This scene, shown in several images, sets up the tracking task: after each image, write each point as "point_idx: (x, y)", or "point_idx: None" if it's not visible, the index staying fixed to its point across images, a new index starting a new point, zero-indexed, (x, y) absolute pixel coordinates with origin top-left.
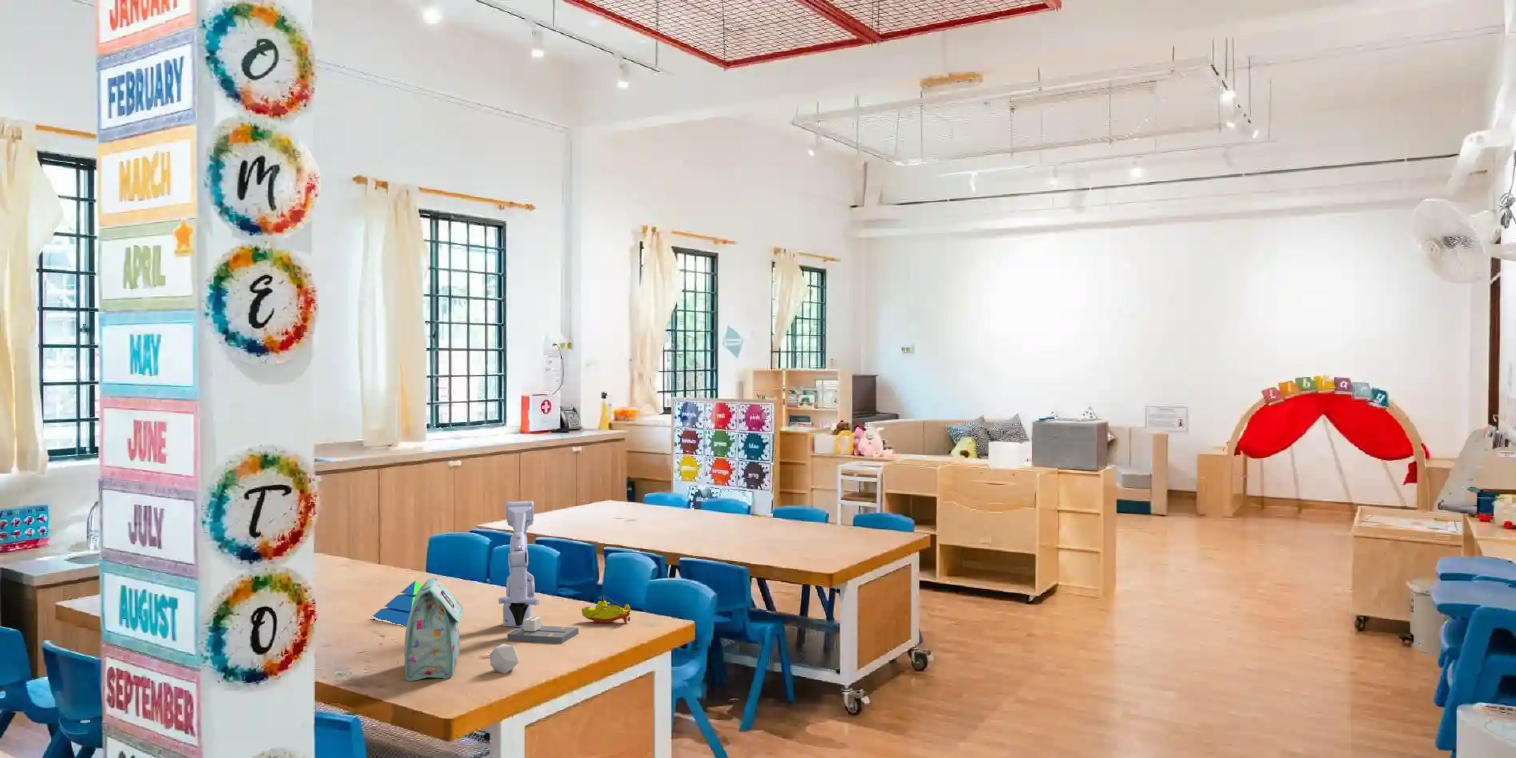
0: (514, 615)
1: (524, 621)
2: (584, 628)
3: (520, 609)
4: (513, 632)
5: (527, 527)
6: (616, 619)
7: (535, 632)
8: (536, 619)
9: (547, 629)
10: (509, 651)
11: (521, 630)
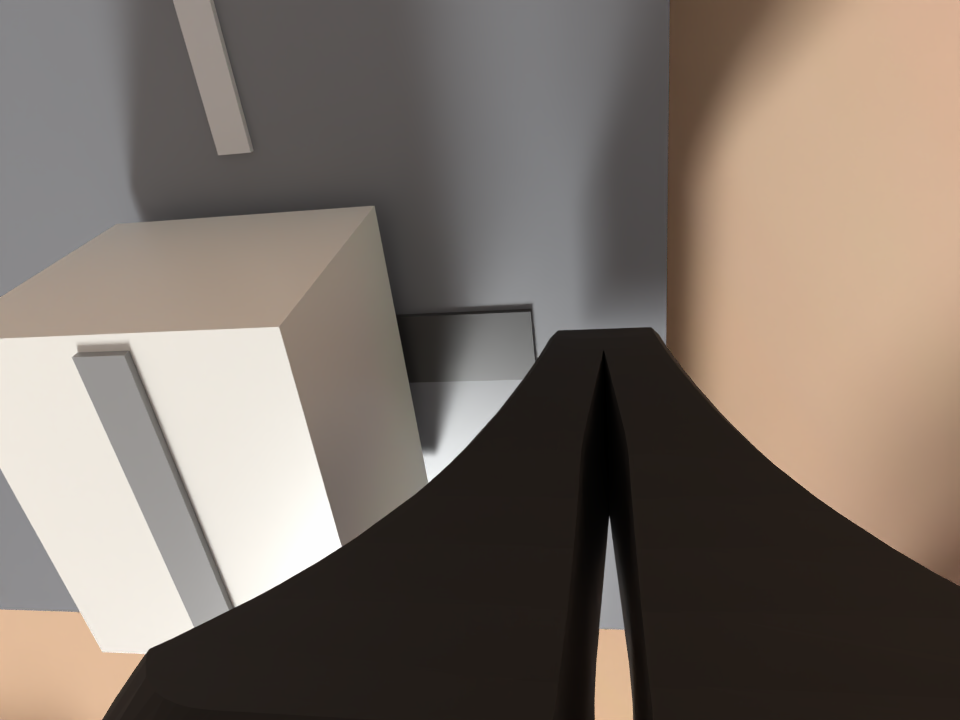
0: (707, 466)
1: (267, 303)
2: (27, 707)
3: (237, 626)
4: (593, 59)
5: None
6: None
7: (111, 216)
8: (3, 462)
9: None
10: None
11: (509, 284)
